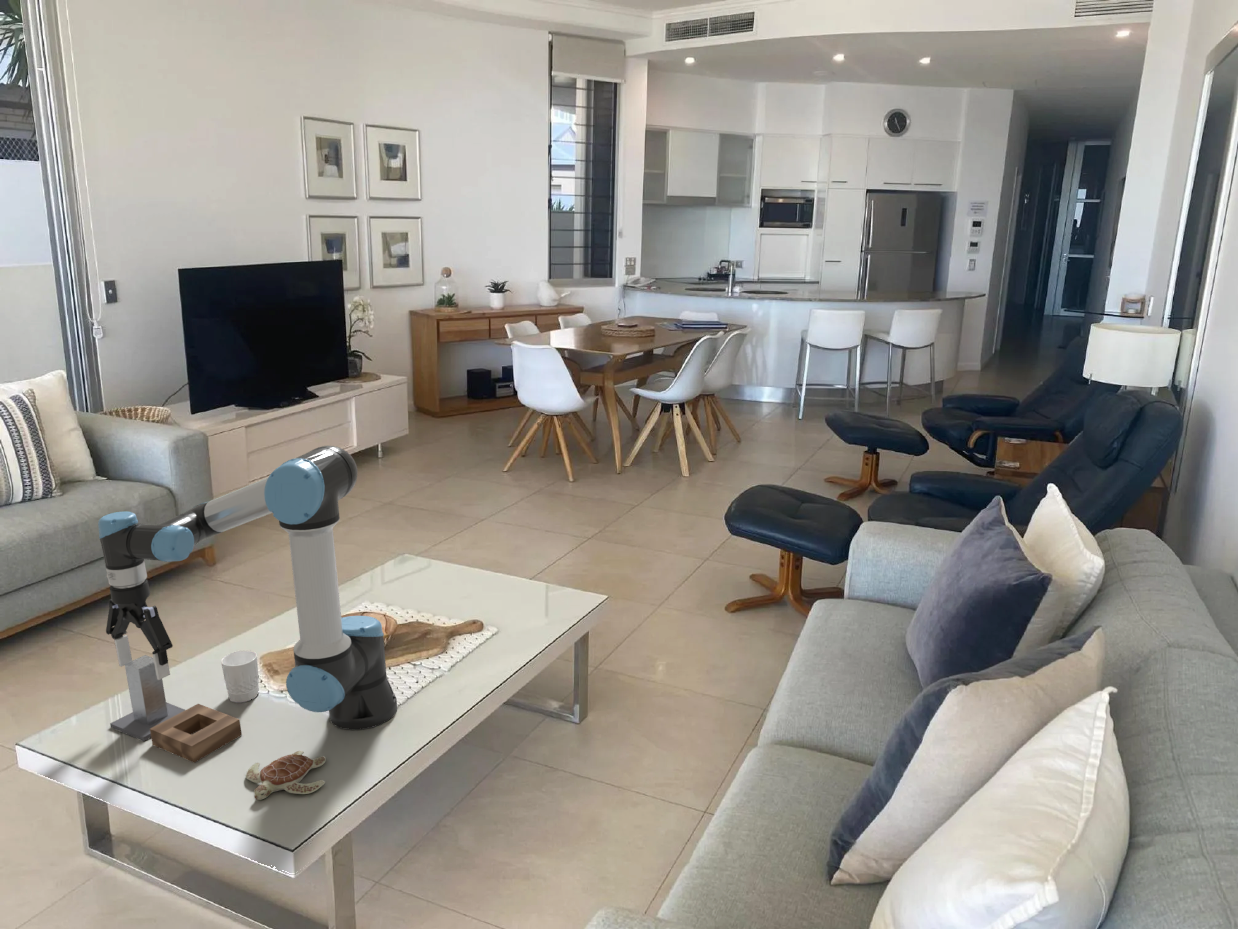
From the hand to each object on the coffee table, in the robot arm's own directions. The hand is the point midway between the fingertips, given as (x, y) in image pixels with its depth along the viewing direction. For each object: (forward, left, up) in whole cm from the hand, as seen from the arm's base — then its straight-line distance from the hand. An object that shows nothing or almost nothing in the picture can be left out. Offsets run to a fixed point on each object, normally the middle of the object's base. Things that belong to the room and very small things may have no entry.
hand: (144, 670), depth 208 cm
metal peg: (0, 0, -12) cm, 12 cm away
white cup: (-9, -18, -13) cm, 24 cm away
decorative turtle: (-45, +1, -14) cm, 47 cm away
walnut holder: (-16, 0, -13) cm, 20 cm away
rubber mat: (0, 0, -13) cm, 13 cm away
